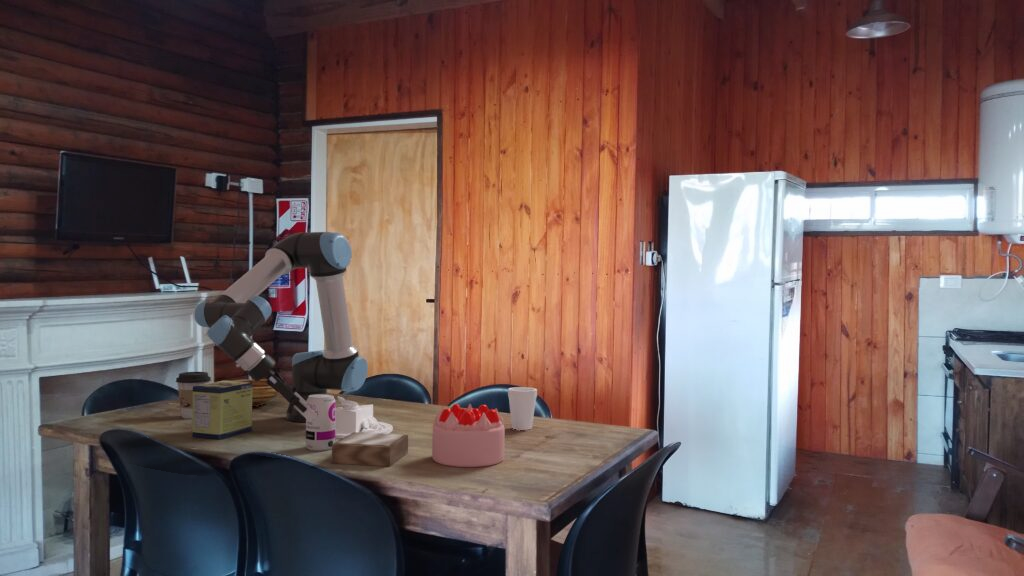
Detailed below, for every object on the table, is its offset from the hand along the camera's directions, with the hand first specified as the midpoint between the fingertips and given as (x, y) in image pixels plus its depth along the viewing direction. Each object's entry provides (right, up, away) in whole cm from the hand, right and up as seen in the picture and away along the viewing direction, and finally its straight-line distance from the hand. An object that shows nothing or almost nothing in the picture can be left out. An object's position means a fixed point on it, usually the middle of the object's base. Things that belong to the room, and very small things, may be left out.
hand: (311, 414), depth 223 cm
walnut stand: (+19, -10, -9) cm, 23 cm away
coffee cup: (-52, -9, +46) cm, 70 cm away
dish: (+6, -10, +28) cm, 30 cm away
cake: (+45, -11, -8) cm, 47 cm away
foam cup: (+60, -10, +35) cm, 70 cm away
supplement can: (+2, -10, +2) cm, 11 cm away
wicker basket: (-42, -8, +73) cm, 85 cm away
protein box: (-32, -9, +20) cm, 39 cm away
